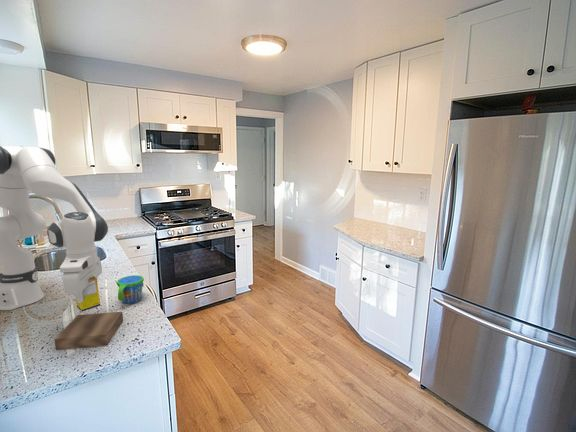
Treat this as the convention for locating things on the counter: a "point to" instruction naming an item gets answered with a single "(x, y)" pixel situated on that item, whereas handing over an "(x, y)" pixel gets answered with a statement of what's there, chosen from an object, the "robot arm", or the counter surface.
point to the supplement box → (90, 295)
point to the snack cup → (130, 288)
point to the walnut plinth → (89, 330)
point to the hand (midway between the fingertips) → (87, 295)
